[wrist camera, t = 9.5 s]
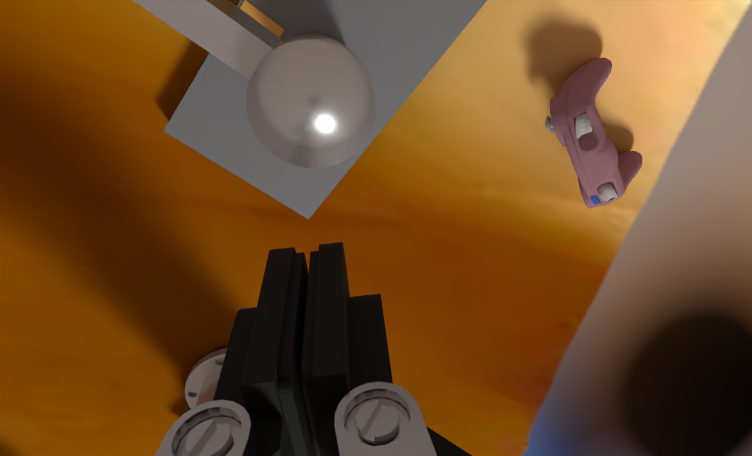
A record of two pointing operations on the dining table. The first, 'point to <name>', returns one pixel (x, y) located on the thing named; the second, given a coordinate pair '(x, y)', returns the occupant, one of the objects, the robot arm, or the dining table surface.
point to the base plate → (355, 31)
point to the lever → (284, 81)
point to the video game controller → (591, 136)
